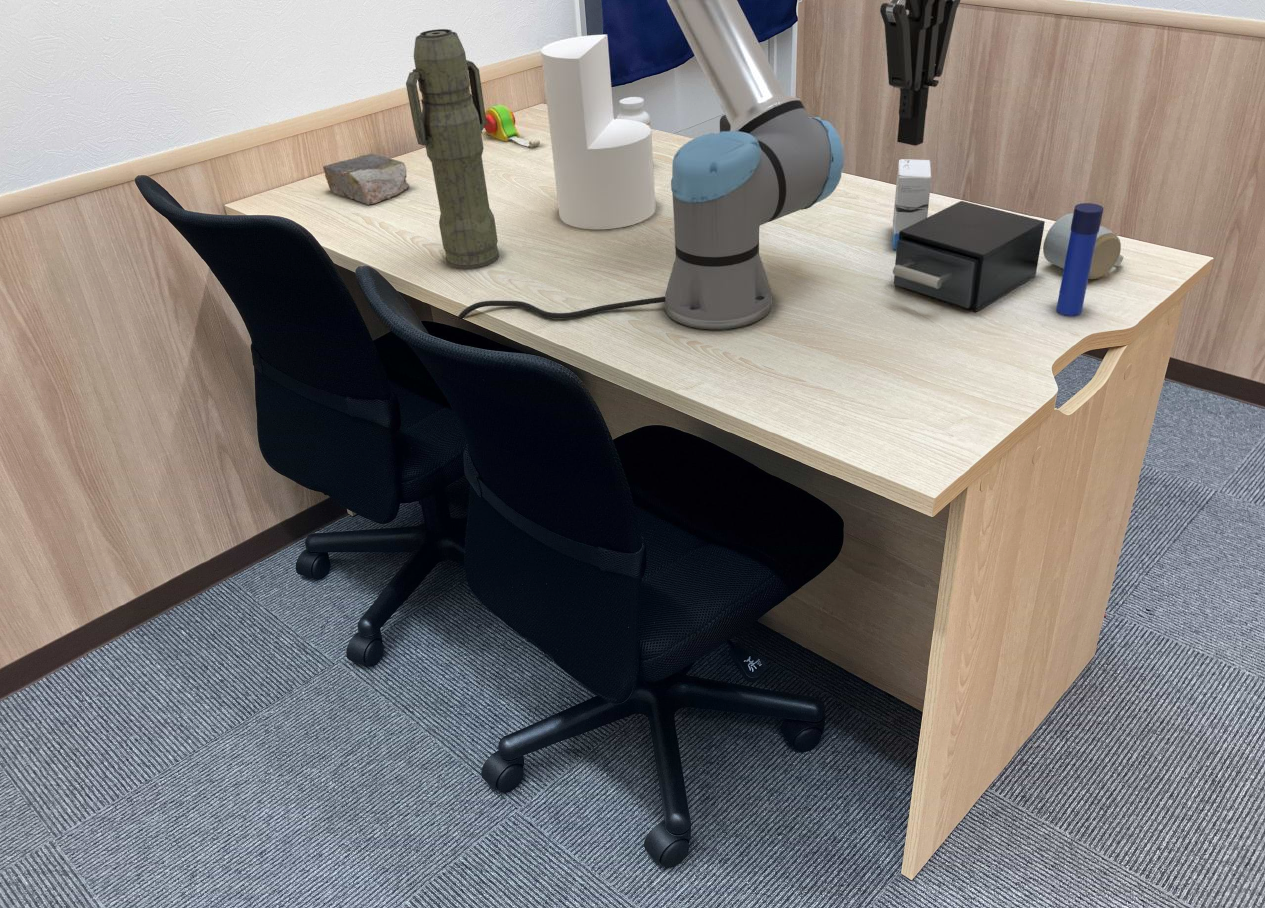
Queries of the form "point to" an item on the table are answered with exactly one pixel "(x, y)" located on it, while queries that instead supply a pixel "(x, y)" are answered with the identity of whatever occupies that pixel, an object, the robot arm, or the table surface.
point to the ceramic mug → (1103, 252)
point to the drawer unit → (985, 246)
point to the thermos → (454, 145)
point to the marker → (1079, 258)
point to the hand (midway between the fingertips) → (910, 142)
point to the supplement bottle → (633, 110)
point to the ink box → (911, 194)
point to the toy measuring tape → (504, 126)
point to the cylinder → (594, 140)
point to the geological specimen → (367, 178)
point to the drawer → (936, 272)
